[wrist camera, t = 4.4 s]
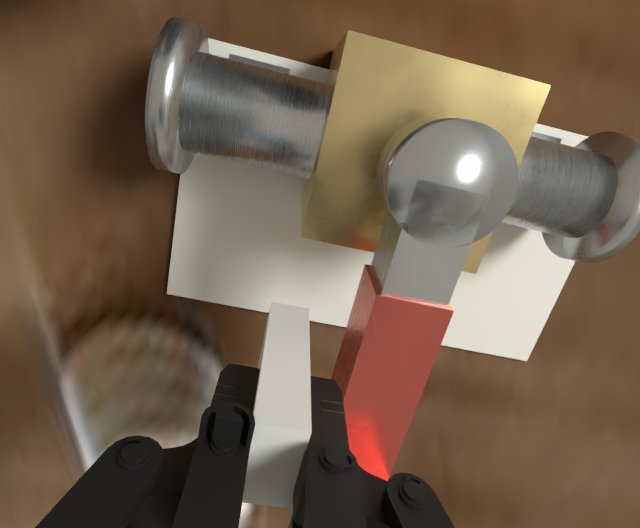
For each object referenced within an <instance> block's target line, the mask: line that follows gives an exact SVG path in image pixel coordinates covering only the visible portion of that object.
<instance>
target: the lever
mask: <svg viewBox="0 0 640 528" xmlns="http://www.w3.org/2000/svg"><path fill="white" fill-rule="evenodd" d="M518 179H519V173H518V165H517V160H516V157H515V154H514V152H513V150H512V148H511V146H510V144H509V143H508V142H507V140H506V139H505V138H504V137H503V136H502V135H501V134H500V133H499V132H497V131H496V130H495V129H493V128H492V127H490V126H488V125H486V124H483V123H480V122H477V121H471V120H465V119H460V118H454V117H448V116H440V115H434V116H426V117H422V118H419V119H416V120H414V121H412V122H410V123H408V124H406V125H405V126H404V127H402V128H401V129H400V130H398V131H397V132H396V133H395V134H394V135H393V137H392V138H391V139H390V140H389V141H388V143H387V145H386V146H385V148H384V150H383V152H382V154H381V157H380V160H379V164H378V168H377V184H378V190H379V193H380V196H381V198H382V200H383V202H384V204H385V205H386V207H387V208H388V209H387V212H386V216H385V219H384V222H383V226H382V229H381V232H380V236H379V239H378V242H377V246H376V249H375V253H374V256H373V259H372V263H371V265H367V264H365V266H364V269H363V272H362V276H361V279H360V283H359V286H358V289H357V293H356V296H355V300H354V303H353V307H352V310H351V313H350V317H349V320H348V324H347V327H346V330H345V334H344V337H343V341H342V344H341V348H340V351H339V354H338V358H337V361H336V365H335V368H334V371H333V375H332V378H331V380H335V381H336V383H337V384H338V386H339V387H340V389H341V390H342V395H343V405H344V410H345V413H344V414H345V418H346V426H347V434H348V442H349V449H350V451H351V452H352V454H353V455H354V456H355V457H356V460H357V463H358V465H359V466H360V467H361V468H362V469H364V470H365V471H367V472H368V473H370V474H372V475H374V476H377V477H379V478H381V479H384V480H386V481H388V480H389V479H390V477H389V476H390V474H391V471H392V469H393V466H394V464H395V461H396V458H397V456H398V453H399V451H400V448H401V446H402V443H403V440H404V438H405V435H406V433H407V430H408V428H409V425H410V423H411V420H412V417H413V415H414V412H415V410H416V407H417V405H418V402H419V400H420V397H421V394H422V392H423V389H424V387H425V384H426V382H427V379H428V377H429V374H430V371H431V369H432V366H433V364H434V361H435V359H436V356H437V354H438V351H439V348H440V346H441V343H442V341H443V338H444V336H445V333H446V331H447V328H448V325H449V323H450V320H451V318H452V315H453V313H454V309H453V308H452V307H451V305H450V304H449V302H450V300H451V297H452V294H453V292H454V289H455V286H456V284H457V281H458V279H459V276H460V273H461V271H462V268H463V266H464V263H465V260H466V258H467V255H468V253H469V250H470V247H471V245H472V243H474V242H476V241H478V240H480V239H482V238H483V237H485V236H486V235H488V234H489V233H490V232H492V231H493V230H494V229H495V228H496V227H497V226H498V225H499V224H500V223H501V222H502V220H503V219H504V218H505V217H506V215H507V213H508V212H509V210H510V208H511V206H512V204H513V202H514V199H515V196H516V193H517V188H518Z"/></svg>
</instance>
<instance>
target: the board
mask: <svg viewBox="0 0 640 528" xmlns="http://www.w3.org/2000/svg"><path fill="white" fill-rule="evenodd" d="M208 44H209V54H212V55H216V56H220V57H224V58H228V59H229V54H234V55H238V56H241V57H245V58H249V59H253V60H257V61H261V62H265V63H269V64H273V65H276V66H280V67H284V68H288V69H290V75H294V76H298V77H302V78H306V79H310V80H314V81H318V82H322V83H326V82H327V78H328V73H329V69H325V68H321V67H317V66H314V65H310V64H306V63H302V62H298V61H294V60H290V59H287V58H283V57H279V56H275V55H271V54H267V53H263V52H260V51H256V50H252V49H248V48H244V47H240V46H237V45H233V44H229V43H225V42H221V41H217V40H213V39H210V38H208ZM533 132H537V133H541V134H545V135H549V136H553V137H557V138H561V139H562V140H561V142H560V143H561V144H564V145H568V146H572V147H575V146H576V145H578V144H579V143H580V142H582V141H583V140H585V139H586V138H588V137H587V136H583V135H579V134H575V133H572V132H568V131H564V130H560V129H556V128H552V127H548V126H545V125H541V124H537V123H536V125H535V127H534V130H533ZM304 182H305V178H303V177H298V176H294V175H290V174H285V173H281V172H276V171H272V170H267V169H263V168H259V167H254V166H250V165H245V164H241V163H237V162H232V161H228V160H223V159H219V158H215V157H210V156H206V155H201V154H197V153H195V155H194V158H193V160H192V162H191V164H190V166H189V168H188V169H187V170H186V172H184V173H183V174H180V182H179V191H178V200H177V208H176V217H175V226H174V235H173V243H172V252H171V261H170V270H169V278H168V287H167V294H170V295H175V296H181V297H186V298H191V299H197V300H202V301H207V302H213V303H218V304H224V305H229V306H234V307H240V308H245V309H250V310H256V311H261V312H266V313H269V311H270V306H271V302H276V303H281V304H286V305H292V306H297V307H302V308H308V309H309V321H315V322H320V323H325V324H331V325H336V326H341V327H347V324H348V320H349V317H350V313H351V310H352V307H353V303H354V300H355V296H356V293H357V289H358V286H359V283H360V279H361V276H362V272H363V269H364V266H365V264H367V265H371V263H372V259H373V256H374V253H373V252H368V251H363V250H359V249H354V248H349V247H344V246H340V245H335V244H330V243H325V242H320V241H316V240H311V239H306V238H301V196H302V191H303V186H304ZM574 263H575V261H573V260H568V259H564V258H561V257H559V256H557V255H555V254H554V253H552V252H551V251H550V249H549V248H548V247H547V245H546V243H545V241H544V239H543V235H542V232H541V231H536V230H532V229H527V228H523V227H519V226H514V225H510V224H505V223H500V224H499V225H498V226H497V227H496V228H495V229H494V230H493V233H492V235H491V238H490V240H489V243H488V245H487V248H486V250H485V253H484V255H483V258H482V260H481V263H480V265H479V268H478V271H477V273H476V274H473V273H468V272H463V271H461V273H460V276H459V279H458V281H457V284H456V286H455V289H454V292H453V294H452V297H451V300H450V302H449V304H450V305H451V307H452V308H453V309H454V313H453V315H452V318H451V320H450V323H449V325H448V328H447V331H446V333H445V336H444V338H443V341H442V343H441V345H443V346H449V347H454V348H459V349H465V350H470V351H475V352H481V353H486V354H492V355H497V356H502V357H508V358H513V359H518V360H524V361H527V360H528V358H529V356H530V354H531V352H532V350H533V348H534V345H535V343H536V341H537V339H538V337H539V335H540V333H541V331H542V329H543V327H544V325H545V323H546V321H547V319H548V317H549V314H550V312H551V310H552V308H553V306H554V304H555V302H556V300H557V298H558V296H559V294H560V292H561V290H562V288H563V285H564V283H565V281H566V279H567V277H568V275H569V273H570V271H571V269H572V267H573V265H574Z"/></svg>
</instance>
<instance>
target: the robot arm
mask: <svg viewBox="0 0 640 528" xmlns="http://www.w3.org/2000/svg"><path fill="white" fill-rule="evenodd" d="M344 413H345V410H344V405H343V395H342V390H341V389H340V387H339V386H338V384H337V383H336V381H335V380H331V379H325V378H319V377H313V376H310V331H309V309H308V308H302V307H297V306H292V305H286V304H281V303H276V302H271V306H270V311H269V315H268V320H267V325H266V330H265V335H264V340H263V344H262V349H261V354H260V359H259V364H258V368H253V367H247V366H241V365H235V364H229V365H228V366H227V367H226V368H225V369H223V370H222V371H221V373H220V376H219V379H218V383H217V386H216V389H215V393H214V396H213V399H212V403H211V406H210V407H208V408H207V409H206V410H205V411H204V413H203V415H202V417H201V423H200V430H199V436H198V438H197V439H195V440H194V441H192V442H191V443H189V444H186V445H184V446H180V447H175V448H167V449H162V447H161V446H160V445H159V443H158V442H157V441H155V440H153V439H151V438H149V437H144V436H132V437H126V438H124V439H121V440H119V441H116V442H115V443H114V444H112V445H111V446H110V447H109V448H108V449H107V450H106V451H105V452H104V453H103V454H102V455H101V456H100V457H99V458H98V459H97V461H96V462H95V463H94V464H93V465H92V466H91V467H90V468H89V469H88V470H87V471H86V473H85V474H84V475H83V476H82V477H81V478H80V479H79V480H78V481H77V482H76V484H75V485H74V486H73V487H72V488H71V489H70V490H69V491H68V492H67V493H66V494H65V496H64V497H63V498H62V499H61V500H60V501H59V502H58V503H57V504H56V505H55V506H54V508H53V509H52V510H51V511H50V512H49V513H48V514H47V515H46V516H45V517H44V519H43V520H42V521H41V522H40V523H39V524H38V525H37V526H36V527H35V528H238V526H239V519H240V512H241V506H242V502H245V503H252V504H260V505H268V506H275V507H283V508H290V507H291V504H292V500H293V514H292V518H291V521H290V525H289V528H454V526H453V524H452V522H451V521H450V519H449V517H448V515H447V513H446V512H445V510H444V508H443V506H442V505H441V503H440V501H439V499H438V498H437V496H436V494H435V492H434V491H433V490H432V489H431V487H430V486H429V485H428V484H427V483H426V482H424V481H423V480H422V479H421V478H419V477H416V476H414V475H412V474H407V473H399V474H395V475H393V476H392V477H391V478H390V479H389V480H388V481H386V480H384V479H381V478H379V477H377V476H374V475H372V474H370V473H368V472H367V471H365V470H364V469H362V468H361V467H360V466H359V465H358V463H357V460H356V457H355V456H354V455H353V454H352V452H351V451H350V449H349V442H348V434H347V426H346V418H345V414H344Z"/></svg>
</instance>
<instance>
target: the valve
mask: <svg viewBox="0 0 640 528" xmlns="http://www.w3.org/2000/svg"><path fill="white" fill-rule="evenodd" d="M550 87H551V85H548V84H545V83H541V82H537V81H534V80H530V79H526V78H523V77H519V76H515V75H512V74H508V73H504V72H501V71H497V70H493V69H490V68H486V67H482V66H479V65H475V64H471V63H468V62H464V61H460V60H457V59H453V58H449V57H446V56H442V55H438V54H435V53H431V52H427V51H424V50H420V49H416V48H413V47H409V46H405V45H402V44H398V43H394V42H391V41H387V40H383V39H380V38H376V37H372V36H369V35H365V34H361V33H358V32H354V31H350V30H348V31H347V32H346V34H345V35H344V36H343V38H342V39H341V40H340V42H339V43H338V44H337V46H336V47H335V48H334V50H333V54H332V58H331V63H330V67H329V73H328V78H327V82H326V83H322V82H318V81H314V80H310V79H306V78H302V77H298V76H294V75H290V69H288V68H284V67H280V66H276V65H273V64H269V63H265V62H261V61H257V60H253V59H249V58H245V57H241V56H238V55H234V54H229V59H228V58H224V57H220V56H216V55H212V54H209V44H208V37H207V33H206V30H205V28H204V26H203V25H202V24H201V23H198V22H194V21H191V20H187V19H183V18H179V17H172V18H170V19H169V20H168V21H167V22H166V24H165V25H164V27H163V28H162V31H161V33H160V35H159V37H158V40H157V43H156V46H155V49H154V53H153V57H152V61H151V66H150V71H149V76H148V83H147V92H146V104H145V134H146V143H147V149H148V154H149V157H150V160H151V162H152V164H153V165H154V167H155V168H157V169H160V170H164V171H169V172H173V173H178V174H183V173H184V172H186V170H187V169H188V168H189V166H190V164H191V162H192V160H193V158H194V155H195V153H197V154H201V155H206V156H210V157H215V158H219V159H223V160H228V161H232V162H237V163H241V164H245V165H250V166H254V167H259V168H263V169H267V170H272V171H276V172H281V173H285V174H290V175H294V176H298V177H303V178H305V182H304V186H303V191H302V196H301V238H306V239H311V240H316V241H320V242H325V243H330V244H335V245H340V246H344V247H349V248H354V249H359V250H363V251H368V252H373V253H375V249H376V246H377V242H378V239H379V236H380V232H381V229H382V226H383V222H384V219H385V216H386V212H387V209H388V208H387V207H386V205H385V204H384V202H383V200H382V198H381V196H380V193H379V190H378V184H377V168H378V164H379V160H380V157H381V154H382V152H383V150H384V148H385V146H386V145H387V143H388V141H389V140H390V139H391V138H392V137H393V135H394V134H395V133H396V132H397V131H398V130H400V129H401V128H402V127H404V126H405V125H406V124H408V123H410V122H412V121H414V120H416V119H419V118H422V117H426V116H434V115H440V116H448V117H454V118H460V119H465V120H471V121H477V122H480V123H483V124H486V125H488V126H490V127H492V128H493V129H495V130H496V131H497V132H499V133H500V134H501V135H502V136H503V137H504V138H505V139H506V140H507V142H508V143H509V144H510V146H511V148H512V150H513V152H514V154H515V157H516V160H517V165H518V173H519V179H518V188H517V193H516V196H515V199H514V202H513V204H512V206H511V208H510V210H509V212H508V213H507V215H506V217H505V218H504V219H503V220H502V222H501V223H505V224H510V225H514V226H519V227H523V228H527V229H532V230H536V231H541V232H542V235H543V239H544V241H545V243H546V245H547V247H548V248H549V249H550V251H551V252H552V253H554V254H555V255H557V256H559V257H561V258H564V259H568V260H573V261H578V262H582V263H595V262H599V261H602V260H605V259H607V258H609V257H611V256H613V255H615V254H616V253H618V252H619V251H620V250H622V249H623V248H624V247H625V246H626V245H627V244H629V243H630V242H631V240H632V239H633V238H634V237H635V236H636V235H637V233H638V232H639V231H640V139H638V138H635V137H631V136H627V135H624V134H620V133H616V132H601V133H597V134H594V135H592V136H590V137H588V138H586V139H585V140H583V141H582V142H580V143H579V144H578V145H576V146H575V147H572V146H568V145H564V144H561V143H560V142H561V140H562V139H561V138H557V137H553V136H549V135H545V134H541V133H537V132H533V130H534V127H535V125H536V122H537V120H538V117H539V115H540V112H541V110H542V107H543V105H544V102H545V100H546V97H547V95H548V92H549V90H550ZM492 233H493V231H492V232H490V233H489V234H488V235H486V236H485V237H483V238H482V239H480V240H478V241H476V242H474V243H472V245H471V247H470V250H469V253H468V255H467V258H466V260H465V263H464V266H463V268H462V271H463V272H468V273H473V274H476V273H477V271H478V268H479V265H480V263H481V260H482V258H483V255H484V253H485V250H486V248H487V245H488V243H489V240H490V238H491V235H492Z"/></svg>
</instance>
